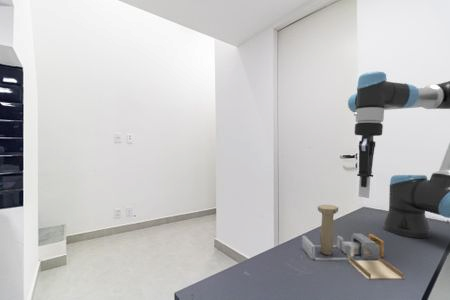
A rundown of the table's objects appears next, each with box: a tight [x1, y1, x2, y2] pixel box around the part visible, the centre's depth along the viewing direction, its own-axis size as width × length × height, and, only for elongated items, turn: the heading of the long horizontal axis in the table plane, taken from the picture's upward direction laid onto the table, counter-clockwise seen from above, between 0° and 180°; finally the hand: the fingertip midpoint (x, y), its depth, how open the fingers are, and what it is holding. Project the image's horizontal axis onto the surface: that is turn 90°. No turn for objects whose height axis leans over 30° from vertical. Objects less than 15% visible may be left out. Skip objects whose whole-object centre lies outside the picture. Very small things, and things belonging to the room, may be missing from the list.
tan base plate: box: [347, 257, 406, 281], centre depth 66 cm, size 10×9×2 cm
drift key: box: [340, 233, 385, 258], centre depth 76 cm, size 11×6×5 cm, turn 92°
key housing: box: [350, 233, 380, 260], centre depth 76 cm, size 5×7×5 cm
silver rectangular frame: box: [301, 235, 355, 261], centre depth 76 cm, size 13×9×4 cm
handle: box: [317, 204, 339, 256], centre depth 75 cm, size 5×6×15 cm
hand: (363, 196), depth 75 cm, fingers closed
